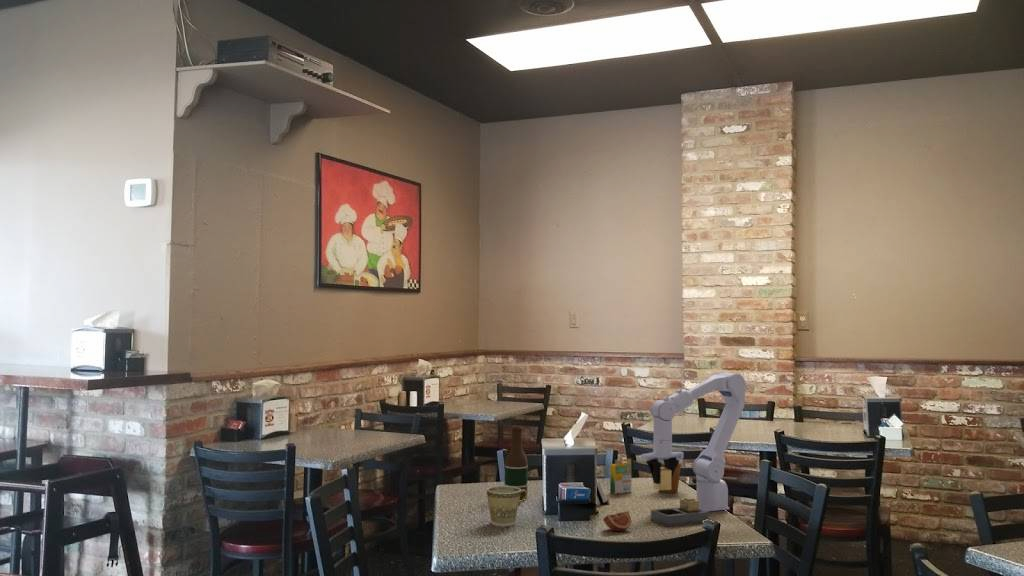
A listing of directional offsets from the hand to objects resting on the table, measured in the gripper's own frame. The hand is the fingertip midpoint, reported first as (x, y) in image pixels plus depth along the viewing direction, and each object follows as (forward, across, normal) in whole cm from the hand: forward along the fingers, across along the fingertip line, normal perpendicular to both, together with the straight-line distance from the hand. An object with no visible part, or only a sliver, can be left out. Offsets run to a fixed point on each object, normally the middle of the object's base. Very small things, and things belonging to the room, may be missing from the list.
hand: (662, 482), depth 249 cm
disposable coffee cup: (+9, -19, -24) cm, 32 cm away
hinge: (+9, +14, -22) cm, 28 cm away
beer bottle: (+9, +36, -32) cm, 49 cm away
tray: (+9, +2, +12) cm, 15 cm away
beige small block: (+2, 0, 0) cm, 2 cm away
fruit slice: (+9, +25, +14) cm, 30 cm away
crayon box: (+9, -2, -28) cm, 30 cm away
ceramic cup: (+9, +51, -4) cm, 52 cm away
